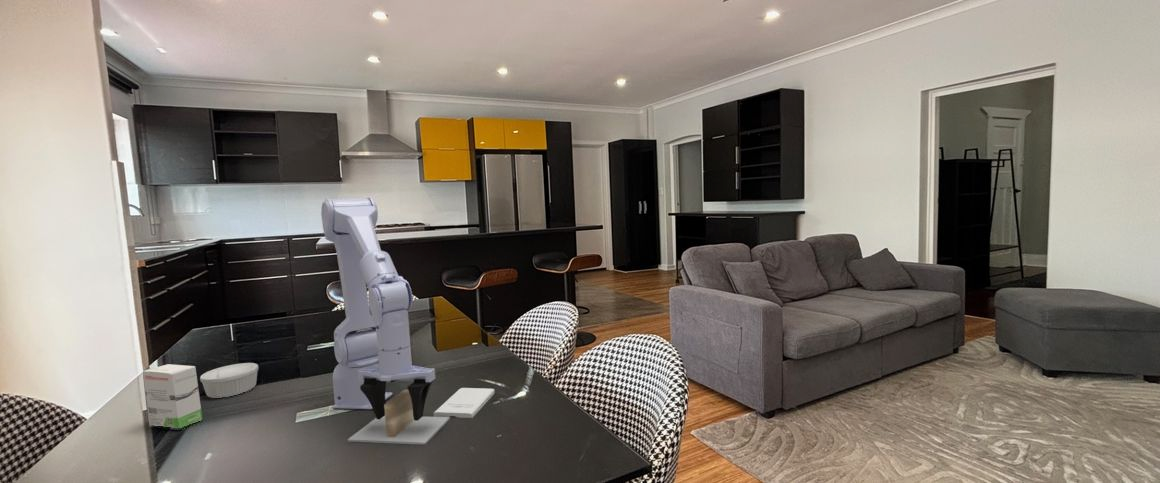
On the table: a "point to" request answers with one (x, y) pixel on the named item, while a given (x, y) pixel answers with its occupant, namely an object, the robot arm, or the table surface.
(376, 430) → the mat
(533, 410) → the table surface
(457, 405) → the external hard drive
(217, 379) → the ramekin
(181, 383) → the ink box
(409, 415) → the tile
